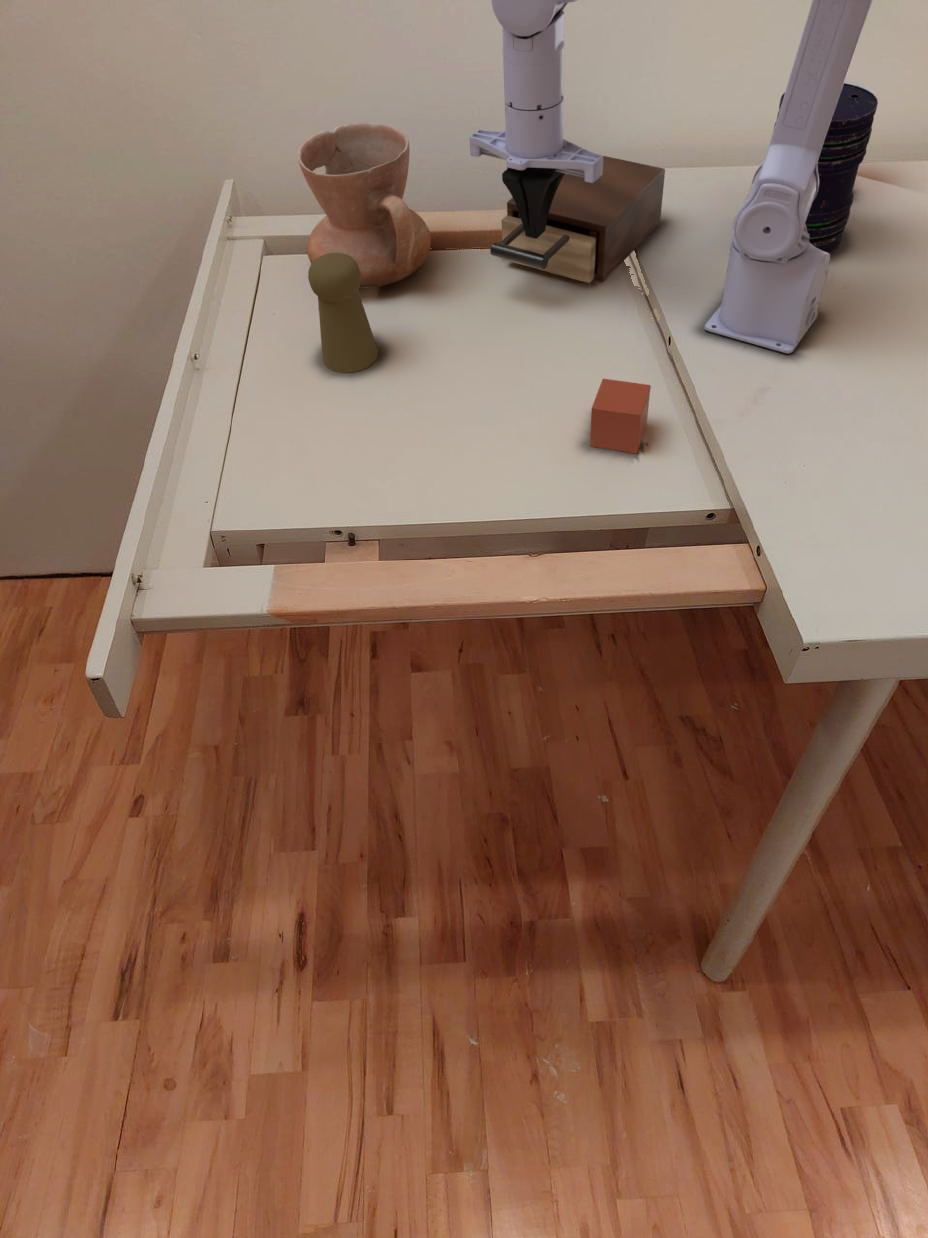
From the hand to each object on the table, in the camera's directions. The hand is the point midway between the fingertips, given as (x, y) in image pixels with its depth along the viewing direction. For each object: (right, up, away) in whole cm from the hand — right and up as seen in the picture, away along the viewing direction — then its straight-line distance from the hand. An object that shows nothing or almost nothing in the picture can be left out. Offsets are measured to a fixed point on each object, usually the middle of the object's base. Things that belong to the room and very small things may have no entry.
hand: (535, 233), depth 97 cm
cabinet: (+7, +4, +11) cm, 13 cm away
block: (+7, -24, -12) cm, 28 cm away
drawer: (+4, 0, +7) cm, 8 cm away
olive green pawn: (-20, -14, -1) cm, 24 cm away
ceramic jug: (-18, 0, +10) cm, 21 cm away
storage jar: (+31, +3, +7) cm, 32 cm away
